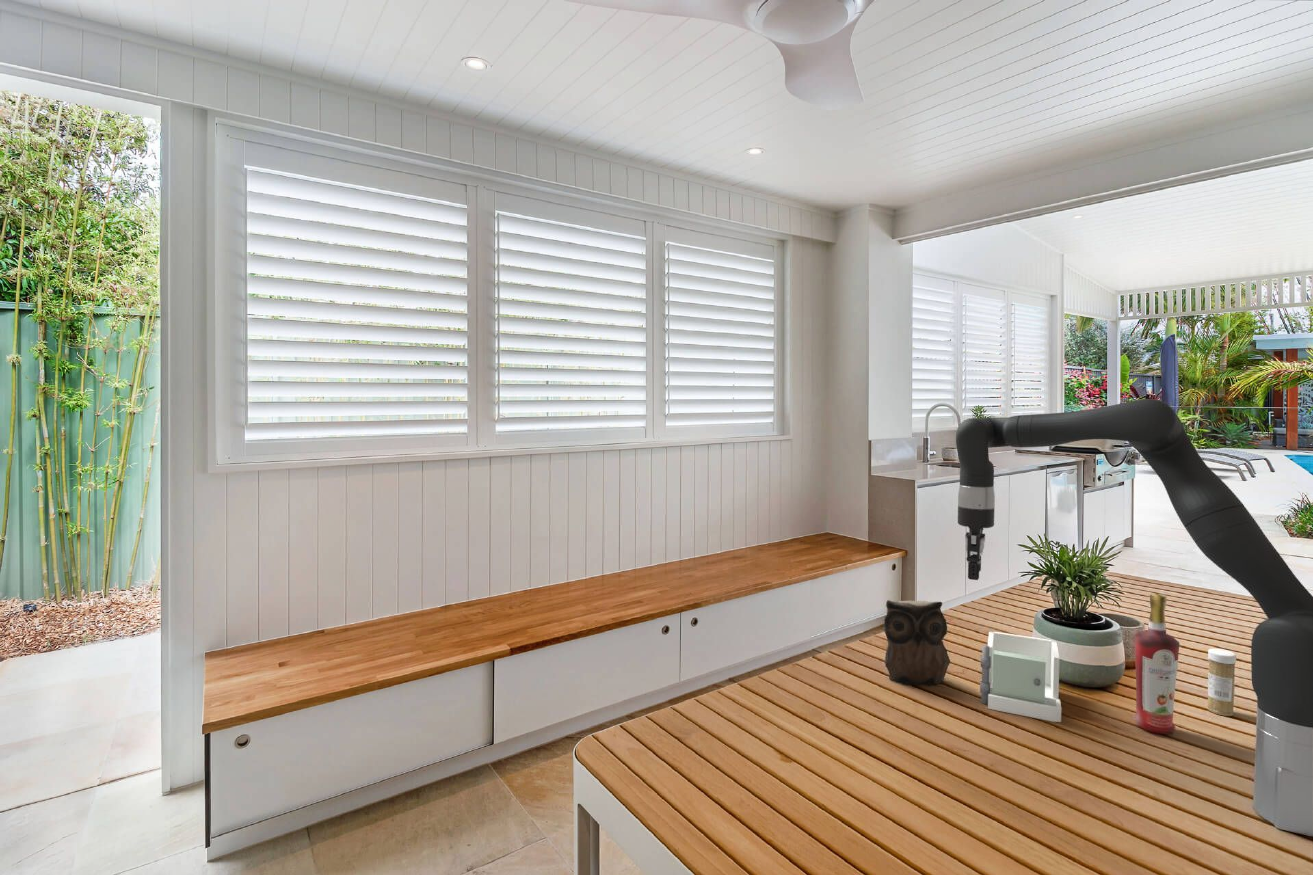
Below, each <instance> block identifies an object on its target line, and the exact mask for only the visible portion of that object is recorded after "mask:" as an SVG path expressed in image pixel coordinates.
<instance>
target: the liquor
mask: <svg viewBox="0 0 1313 875" xmlns="http://www.w3.org/2000/svg"><path fill="white" fill-rule="evenodd" d="M1149 606H1150V613H1149V620H1148V629H1147V630H1142V631H1140V632H1138V633H1136V634H1134V662H1135V666H1134V667H1135V684H1136V685H1135V688H1136V690H1135V692H1136V695H1135V696H1136V697H1135V698H1136V701H1135V703H1136V714H1134V716H1133V721H1135V722H1136V723H1137V724H1138V726H1139V727H1140V728H1141V729H1142V730H1144V731H1146V732H1149V733H1152V734H1159V735H1164V734H1167V733H1170V732H1171V731H1174V730H1175V729H1176V726H1175V724H1174V722H1173V720H1174V708H1175V707H1174V705H1175V693H1176V692H1175V691H1176V685H1177V684H1176V682H1177V674H1178V665H1179V653H1180V642H1179V641H1178V640H1177V639H1176V638H1175V637H1174V636H1172V635H1171V634H1168V633H1167V626H1166V616H1165V614H1166V613H1165V612H1166V611H1165V610H1166V607H1167V595H1164V594H1160V593H1150V594H1149Z"/></svg>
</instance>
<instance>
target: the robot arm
mask: <svg viewBox="0 0 1313 875" xmlns="http://www.w3.org/2000/svg"><path fill="white" fill-rule="evenodd" d="M1089 440H1110V441H1111V440H1112V441H1113V440H1114V441H1123V442H1124V441H1125V442H1127V443H1128V444H1129V445H1130V446H1131V447H1133V448H1134V449H1135V450H1136V451H1137V452H1138V453H1139V454H1140V456H1142V458H1143V459H1144V461H1146V463H1147V464H1148V465H1149V467H1151V468H1152V470H1153V471H1154V472H1155V474H1156V475H1157V477H1159V479H1160V481H1161V482H1162V485H1163V486H1164V488H1165V490H1166V494H1167V495H1168V498H1169V500H1170V502H1171V505H1172V507H1173V509H1174V511H1175V514H1176V515H1177V517H1178V518H1179V520H1180V522H1181V524H1182V525H1183V527H1184V528H1185V530H1186V532H1187V533H1188V534H1189V536H1190V537H1191V539H1192V540H1193V542H1194V543H1195V545H1196V546H1197V548H1198V549H1199V550H1200V551H1201V553H1203V555H1204V556H1205V557H1207V559H1209V560H1210V561H1211V562H1212V563H1213V564H1214V565H1215V566H1217V567H1218V568H1219V569H1220V570H1222V571H1223V572H1224V573H1225V574H1227V576H1230V577H1231V578H1232V579H1233V580H1235V581H1236V582H1237V583H1238V584H1240V585H1241V586H1242V587H1243V588H1244V589H1245V590H1246V591H1247V592H1248V593H1249V594H1250V595H1251V596H1252V597H1253V599H1254V600H1255V602H1256V603H1257V604H1258V606H1259V607H1260V608H1261V610H1262V612H1263V613H1264V615H1265V617H1266V618H1267V619H1265V620H1263V621H1261V622H1260V623H1259V624H1258V625H1256V627H1255V629H1254V631H1253V634H1252V637H1251V645H1250V646H1251V647H1250V651H1251V652H1250V663H1251V666H1250V669H1251V670H1250V671H1251V672H1250V673H1251V686H1252V689H1253V692H1254V694H1255V695H1256V724H1255V743H1254V744H1255V745H1254V746H1255V748H1254V774H1253V776H1254V777H1253V796H1252V798H1253V800H1252V806H1253V807H1252V808H1253V809H1254V811H1255V813H1256V814H1258V815H1259V816H1260V817H1261V818H1263V819H1264V820H1266V821H1268V822H1269V823H1270V824H1272V825H1274V828H1276V829H1278V830H1282V831H1283V830H1284V831H1287V832H1291V833H1296V834H1301V835H1305V836H1309V837H1313V595H1312V594H1311V593H1310V591H1309V589H1307V588H1306V587H1305V586H1304V585H1303V583H1301V581H1300V580H1299V578H1297V577H1296V575H1295V574H1294V572H1293V570H1292V569H1291V568H1290V567H1289V565H1288V564H1287V563H1286V561H1285V560H1284V557H1282V556H1281V554H1280V553H1279V552H1278V550H1277V549H1276V547H1275V546H1274V545H1273V543H1272V542H1271V541H1270V540H1269V538H1268V537H1267V535H1265V533H1264V532H1263V530H1262V529H1261V526H1260V525H1259V524H1258V523H1257V521H1256V519H1255V517H1253V515H1252V514H1251V513H1250V511H1249V510H1248V509H1247V507H1246V506H1245V505H1244V504H1243V502H1242V501H1241V500H1240V498H1239V497H1238V496H1237V495H1236V493H1234V491H1233V490H1232V489H1231V488H1229V486H1228V485H1227V484H1226V483H1225V482H1224V481H1223V480H1222V478H1220V477H1219V476H1218V475H1217V474H1216V473H1215V472H1214V471H1213V470H1212V469H1211V468H1210V467H1209V466H1208V465H1207V463H1205V461H1204V460H1203V459H1202V457H1201V456H1200V454H1199V452H1198V451H1197V449H1196V448H1195V446H1194V444H1193V442H1192V441H1191V439H1190V437H1189V435H1188V433H1187V432H1186V430H1185V427H1184V426H1183V423H1182V421H1181V419H1180V417H1179V415H1178V414H1177V413H1176V411H1175V409H1173V407H1171V406H1170V405H1169V404H1168V403H1166V402H1165V401H1162V400H1160V399H1159V400H1158V399H1156V398H1142V399H1137V400H1131V401H1127V402H1123V403H1118V404H1112V405H1107V406H1102V407H1096V408H1089V409H1083V410H1076V411H1064V412H1054V413H1053V412H1050V413H1038V414H1037V413H1034V414H1021V415H1012V416H1008V417H1007V416H1006V417H1005V416H1004V417H973V418H971V417H970V418H967V419H964V420H963V421H962V422H960V424H959V425H958V427H957V429H956V434H955V445H956V452H957V457H958V462H959V488H958V492H957V493H958V495H957V524H958V525H959V526H962V527H967V528H968V530H969V532H968V531H966V534H965V537H964V539H965V553H966V554H967V555H966V556H967V557H966V561H967V564H968V565H967V578H968V580H970V581H971V580H973V581H978V580H979V579H980V572H981V571H982V555H983V554H984V549H985V542H986V533H983V531H984V529H990V528H993V527H994V526H995V503H996V502H995V501H996V500H995V497H996V496H995V486H994V485H995V482H994V481H995V480H994V479H995V467H994V464H993V462H992V461H991V460H990V456H989V454H990V453H989V449H990V448H1006V447H1012V448H1039V447H1040V448H1041V447H1042V448H1044V447H1053V446H1061V445H1064V444H1069V443H1073V442H1079V441H1080V442H1081V441H1089Z"/></svg>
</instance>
